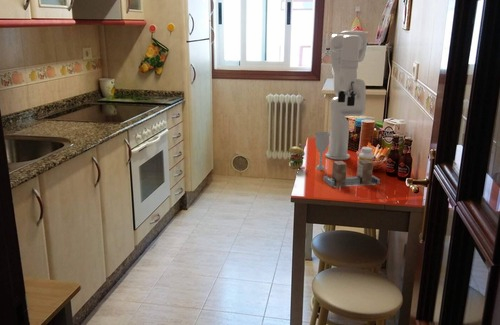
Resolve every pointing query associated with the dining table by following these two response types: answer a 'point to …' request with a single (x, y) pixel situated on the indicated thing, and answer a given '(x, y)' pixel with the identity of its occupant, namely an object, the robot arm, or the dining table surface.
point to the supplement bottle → (366, 154)
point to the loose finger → (339, 172)
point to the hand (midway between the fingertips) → (345, 103)
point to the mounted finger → (365, 170)
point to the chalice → (321, 146)
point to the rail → (351, 181)
